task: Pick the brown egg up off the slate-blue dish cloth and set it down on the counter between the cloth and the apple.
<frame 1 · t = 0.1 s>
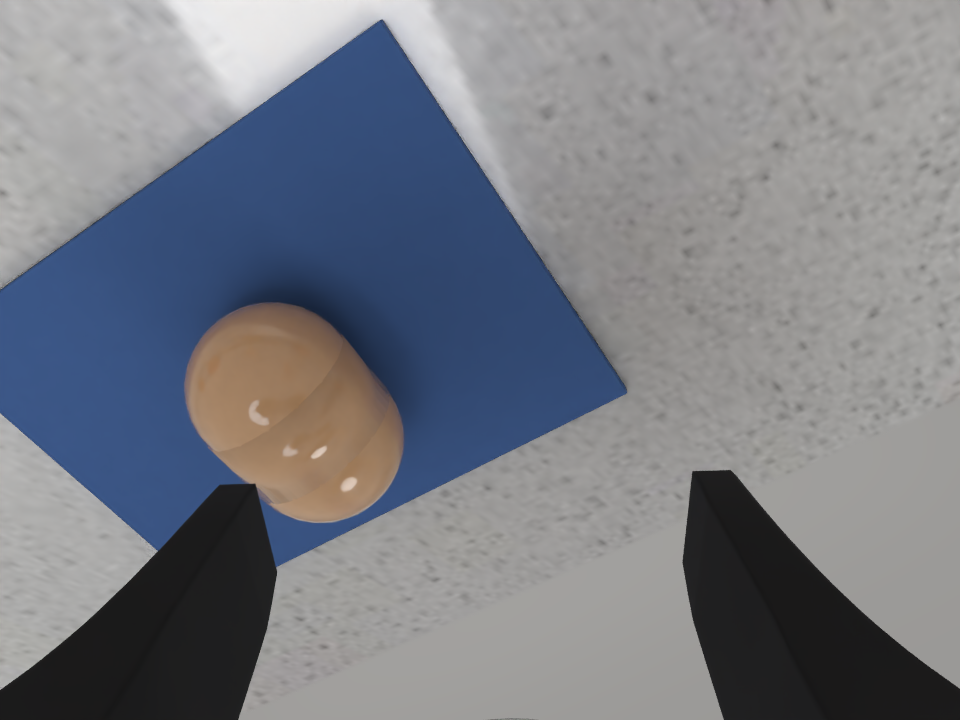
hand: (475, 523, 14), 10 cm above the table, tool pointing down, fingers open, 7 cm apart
cloth: (281, 364, 24), on the table
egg: (313, 368, 24), resting on cloth
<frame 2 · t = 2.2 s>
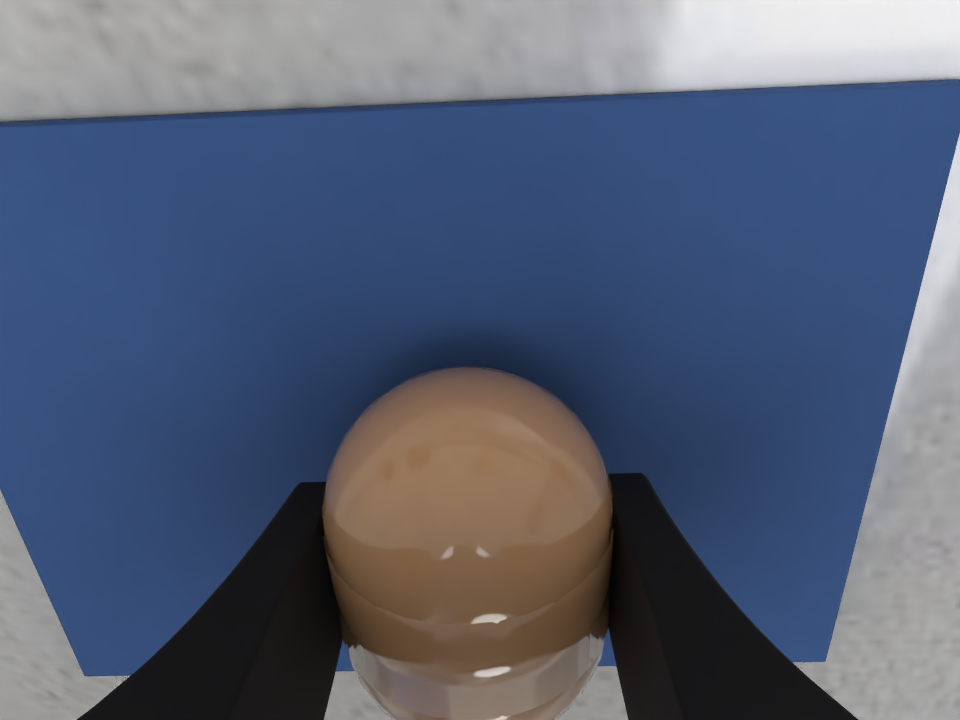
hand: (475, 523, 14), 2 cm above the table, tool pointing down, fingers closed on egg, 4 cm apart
cloth: (427, 438, 15), on the table
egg: (474, 469, 15), resting on cloth, touching gripper
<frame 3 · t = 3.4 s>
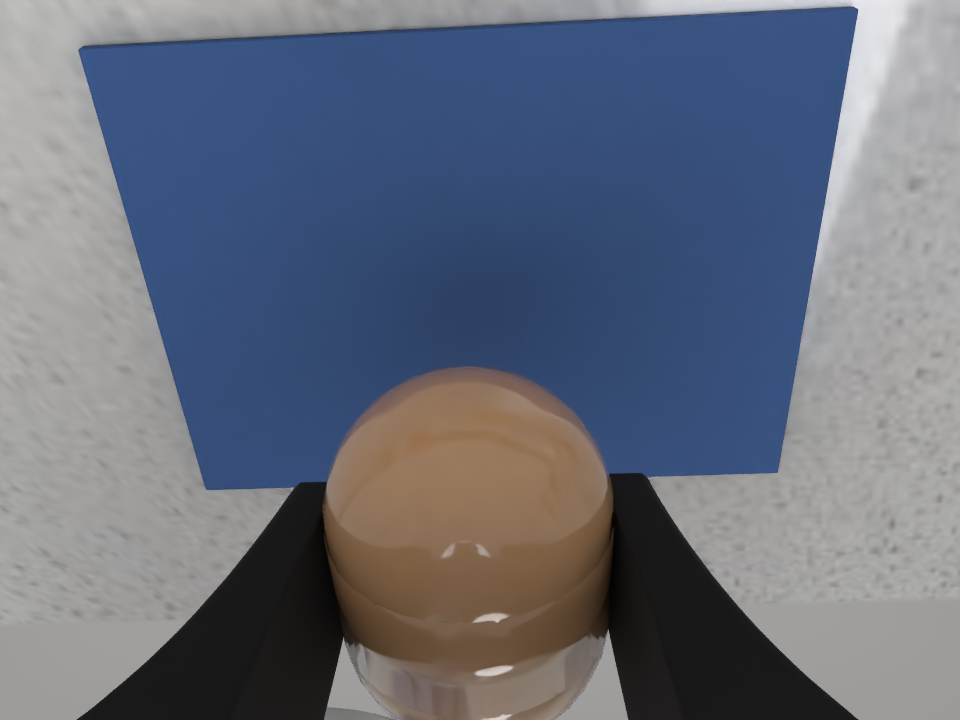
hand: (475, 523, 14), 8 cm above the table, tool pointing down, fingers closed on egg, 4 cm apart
cloth: (476, 285, 21), on the table
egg: (475, 468, 15), point 7 cm above the table, touching gripper
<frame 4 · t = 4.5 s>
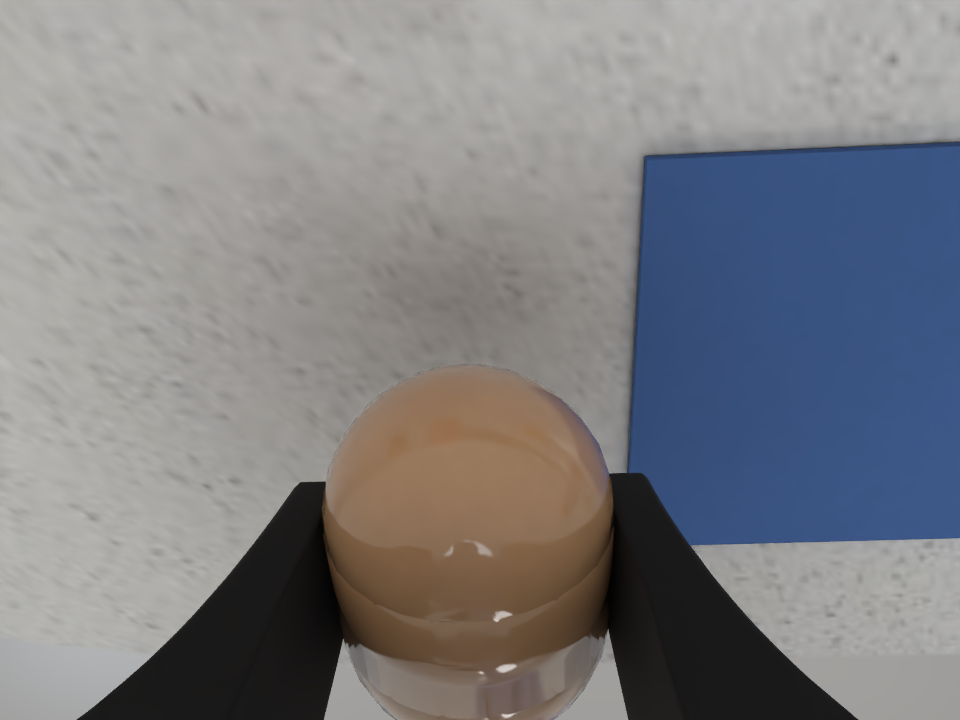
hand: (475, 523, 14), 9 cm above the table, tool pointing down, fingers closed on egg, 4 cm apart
cloth: (938, 364, 22), on the table
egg: (474, 467, 15), point 7 cm above the table, touching gripper
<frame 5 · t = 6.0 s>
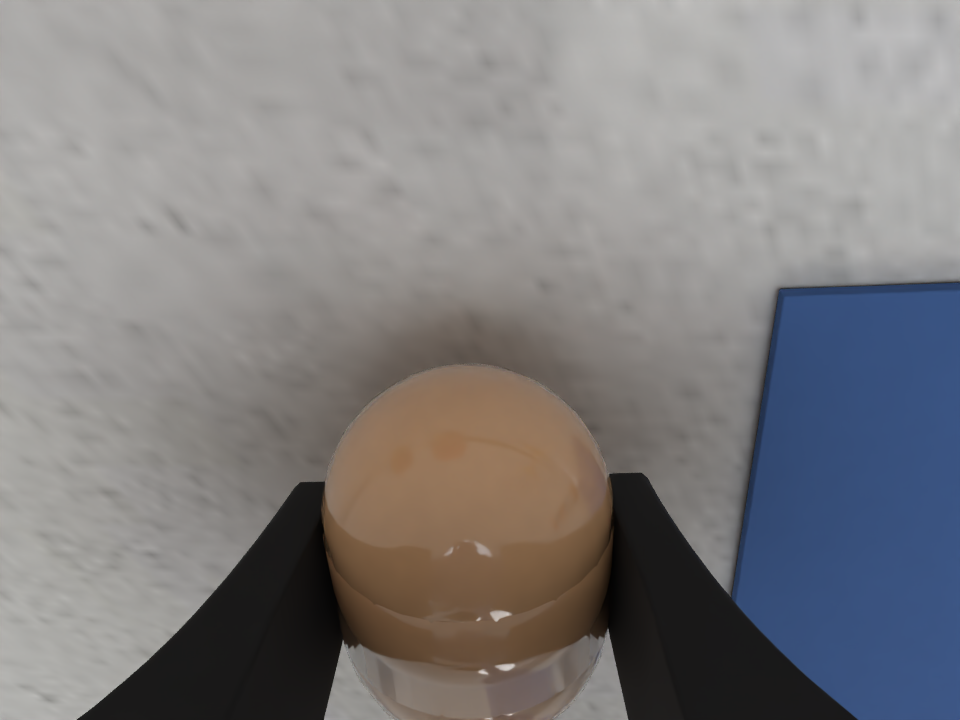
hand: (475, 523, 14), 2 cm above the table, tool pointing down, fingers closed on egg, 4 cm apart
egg: (474, 467, 15), point 1 cm above the table, touching gripper
when the fingers open (1 cm above the table, at t = 6.7 s): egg stays where it is, on the table.
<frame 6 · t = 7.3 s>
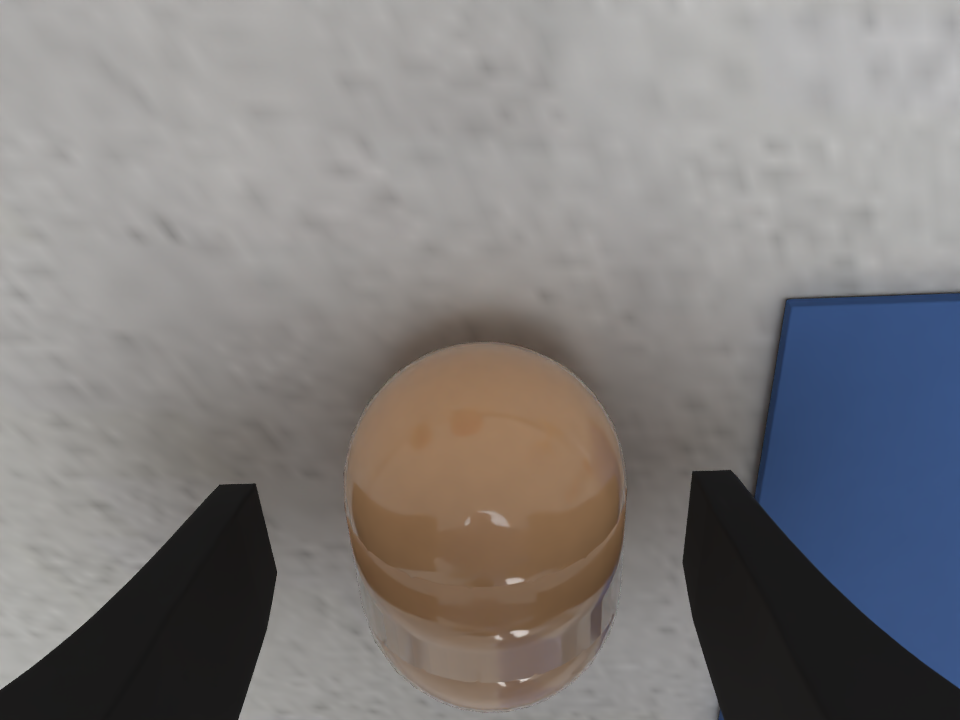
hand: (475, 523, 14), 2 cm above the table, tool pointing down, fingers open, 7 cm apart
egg: (474, 446, 16), on the table, tilted 7°
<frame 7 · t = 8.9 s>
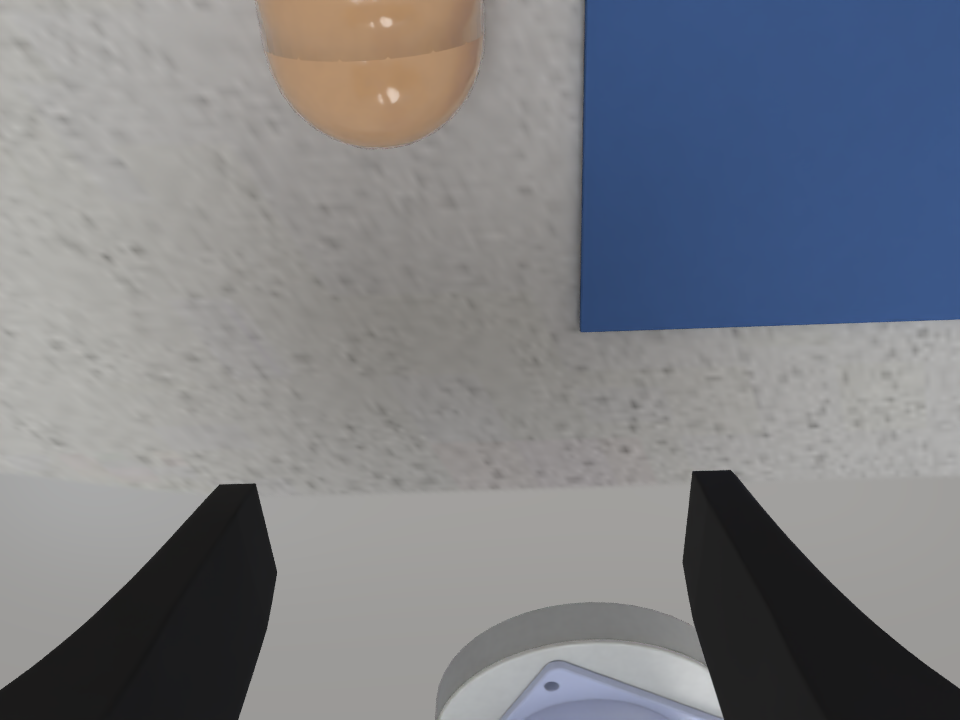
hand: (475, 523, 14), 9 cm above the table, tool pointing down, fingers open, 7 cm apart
cloth: (933, 88, 19), on the table
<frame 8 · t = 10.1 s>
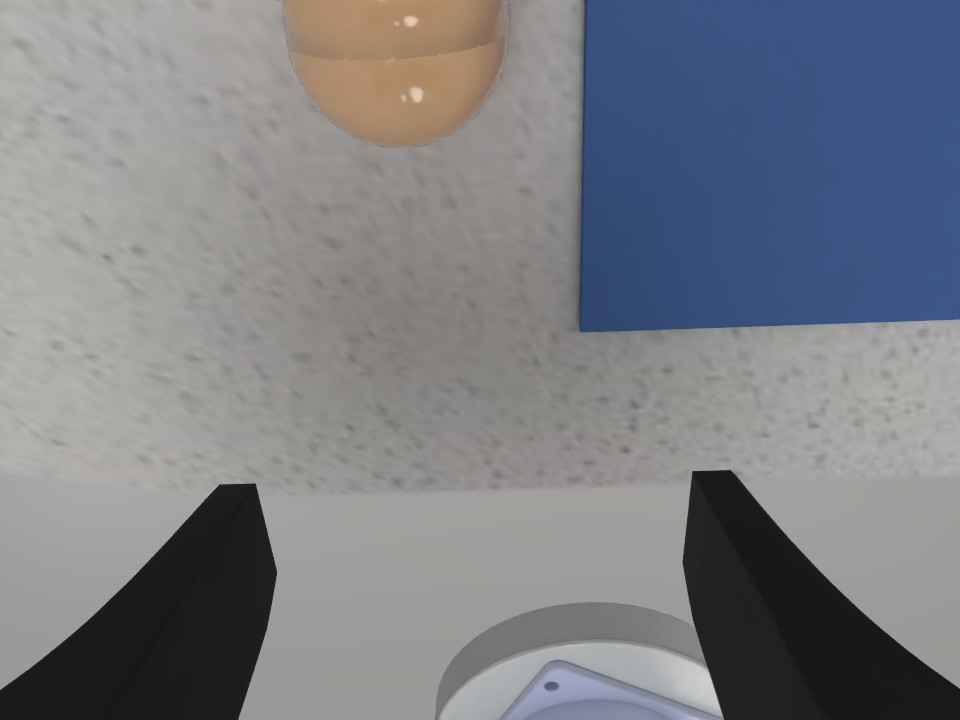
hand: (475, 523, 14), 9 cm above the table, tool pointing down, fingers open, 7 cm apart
cloth: (933, 88, 19), on the table
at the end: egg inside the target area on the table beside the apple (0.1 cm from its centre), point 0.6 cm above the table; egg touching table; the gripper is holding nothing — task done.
